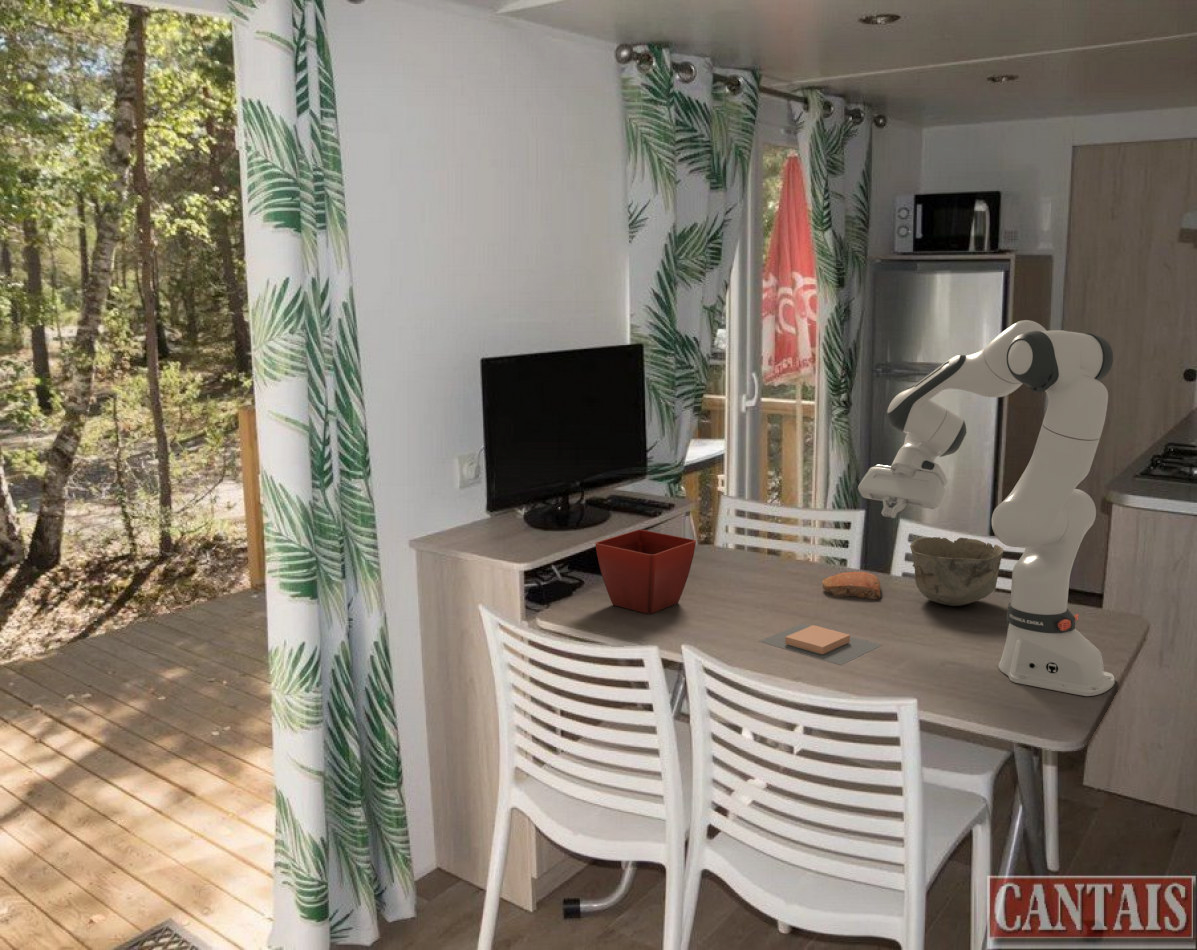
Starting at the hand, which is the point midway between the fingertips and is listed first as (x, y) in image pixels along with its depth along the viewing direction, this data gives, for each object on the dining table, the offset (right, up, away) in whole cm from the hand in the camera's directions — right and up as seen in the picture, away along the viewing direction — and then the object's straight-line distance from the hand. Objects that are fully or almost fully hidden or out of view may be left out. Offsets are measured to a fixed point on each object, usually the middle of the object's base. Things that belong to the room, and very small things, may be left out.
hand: (887, 515), depth 252 cm
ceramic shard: (0, -22, +35) cm, 41 cm away
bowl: (+23, -23, +22) cm, 40 cm away
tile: (-14, -27, -4) cm, 31 cm away
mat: (-17, -29, -6) cm, 35 cm away
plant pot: (-56, -24, +26) cm, 66 cm away
